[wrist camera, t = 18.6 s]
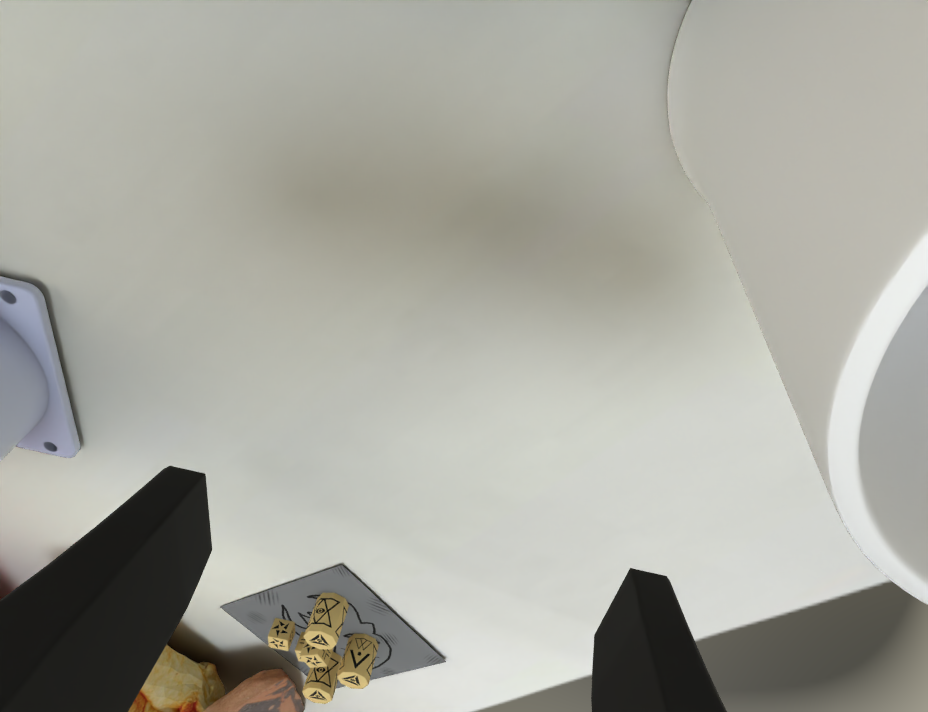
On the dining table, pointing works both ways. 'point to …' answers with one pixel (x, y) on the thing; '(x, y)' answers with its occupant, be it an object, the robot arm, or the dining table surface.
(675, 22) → the dining table surface
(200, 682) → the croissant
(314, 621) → the dice set
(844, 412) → the mug
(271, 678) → the pottery shard
